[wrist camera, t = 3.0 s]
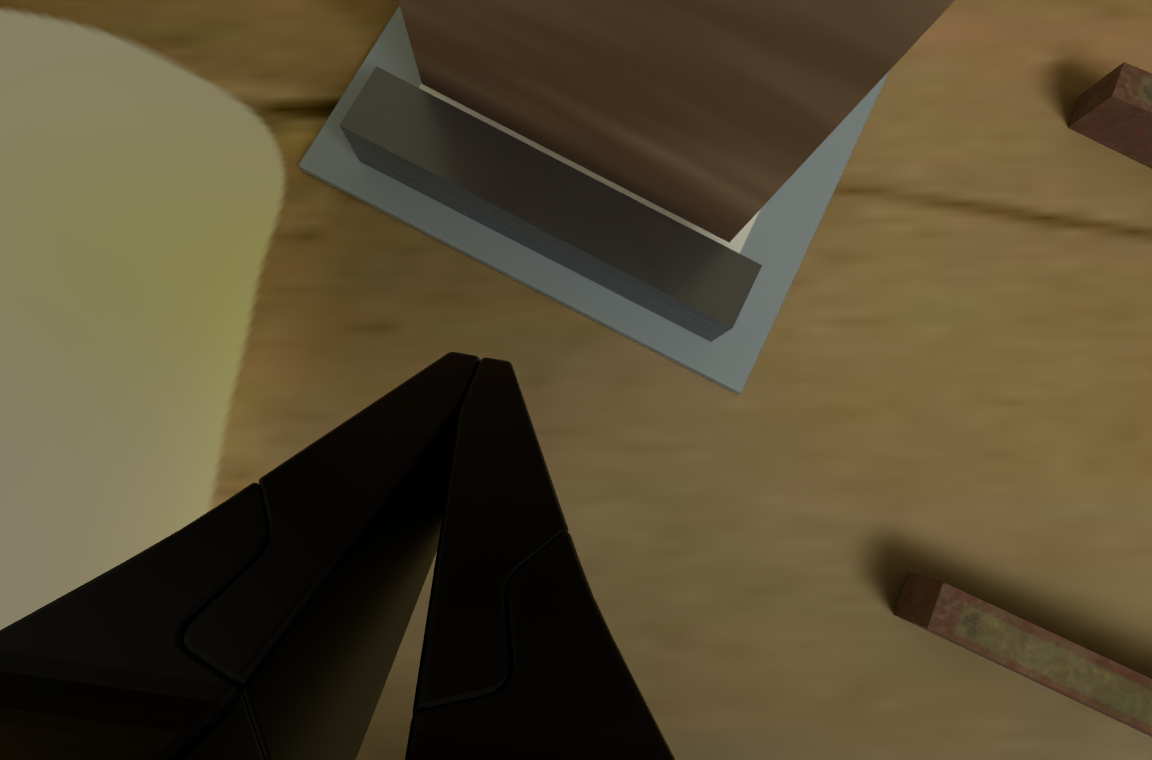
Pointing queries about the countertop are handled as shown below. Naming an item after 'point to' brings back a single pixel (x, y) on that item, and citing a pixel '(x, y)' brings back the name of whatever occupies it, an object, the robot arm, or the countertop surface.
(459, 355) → the robot arm
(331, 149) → the card
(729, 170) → the fence panel
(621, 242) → the base
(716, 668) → the countertop surface
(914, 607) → the miniature gate
